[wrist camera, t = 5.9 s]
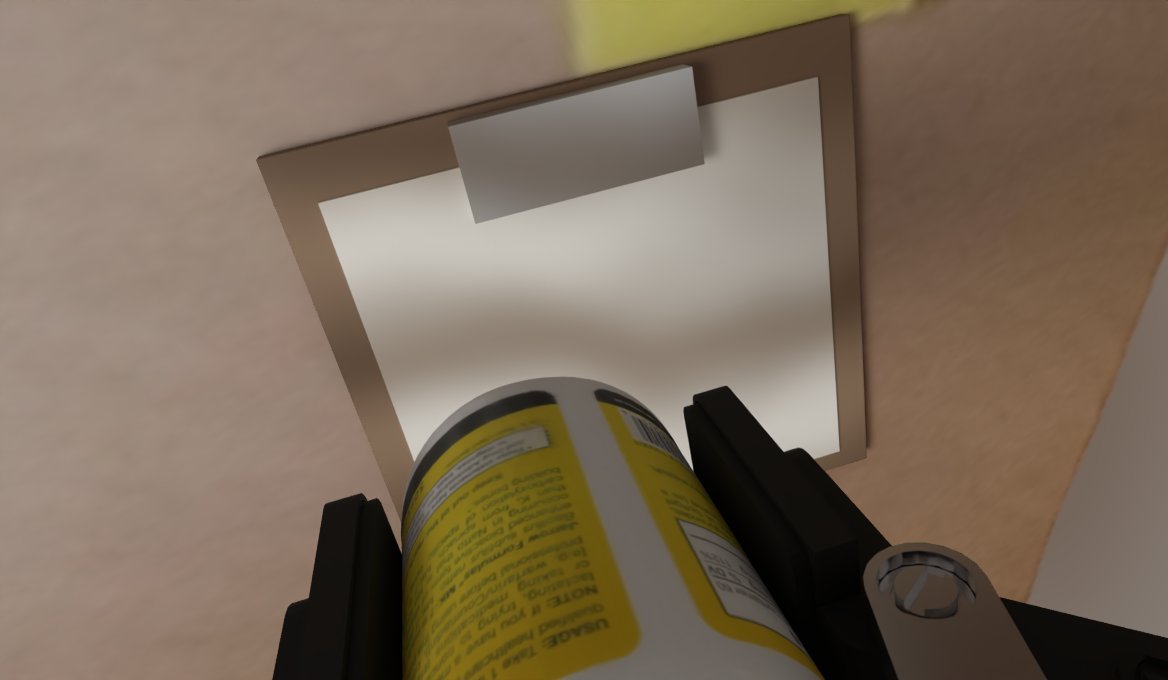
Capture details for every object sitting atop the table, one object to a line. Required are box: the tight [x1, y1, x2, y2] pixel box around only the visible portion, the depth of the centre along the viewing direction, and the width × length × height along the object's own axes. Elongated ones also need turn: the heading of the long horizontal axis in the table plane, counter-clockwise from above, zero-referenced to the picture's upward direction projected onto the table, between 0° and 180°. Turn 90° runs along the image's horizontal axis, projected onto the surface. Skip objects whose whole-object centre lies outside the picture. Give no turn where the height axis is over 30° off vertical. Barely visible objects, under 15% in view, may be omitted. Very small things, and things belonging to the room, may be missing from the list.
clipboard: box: [256, 14, 867, 521], centre depth 22 cm, size 14×15×1 cm
